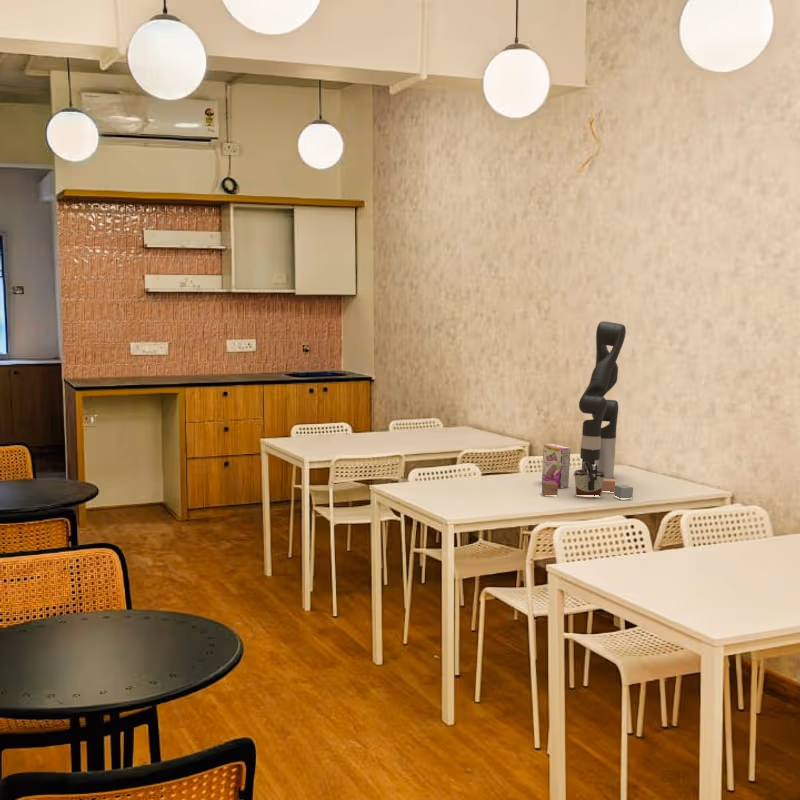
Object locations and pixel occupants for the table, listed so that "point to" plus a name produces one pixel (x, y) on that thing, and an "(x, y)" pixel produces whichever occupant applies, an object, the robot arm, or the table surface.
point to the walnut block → (549, 488)
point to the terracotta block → (608, 485)
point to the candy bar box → (556, 464)
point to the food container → (582, 483)
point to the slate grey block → (623, 491)
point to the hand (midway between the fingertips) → (588, 488)
